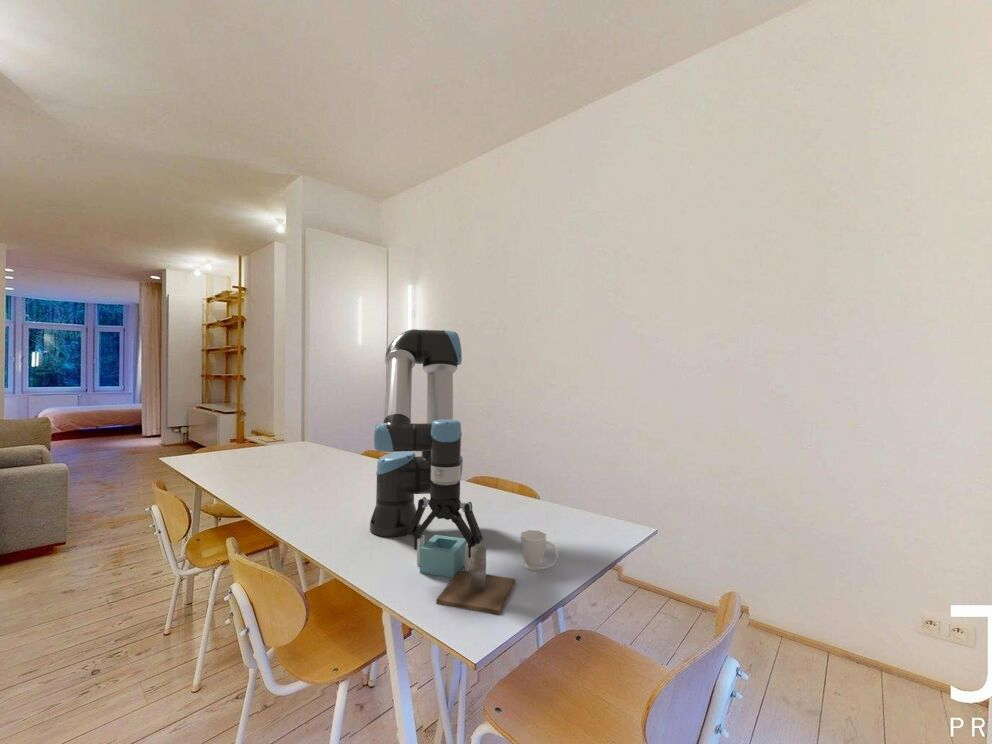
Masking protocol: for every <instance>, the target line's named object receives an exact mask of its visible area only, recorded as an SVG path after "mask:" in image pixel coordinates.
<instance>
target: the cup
mask: <svg viewBox="0 0 992 744" xmlns="http://www.w3.org/2000/svg"><path fill="white" fill-rule="evenodd" d="M520 541H521V543H520V544H521V549H522V557H523V562H524V568H525V569H527V570H528V571H538V570H547V569H548V568H550V567H552V566H554V565H555V564H556V563H557V561H558V558H559V553H558V549H557V546H556V545H555V543H553V542H551V541H547V534H546V533H545V532H542V531H540V530H526V531H522V532H520ZM547 545H550V546H551V547H552V548H553V550H554V553H555V560H554V561H553V562H552V563H551V564H548V565H547V566H542V564H543V563H542V562H543V560H544V555H545V548H546V546H547Z"/></svg>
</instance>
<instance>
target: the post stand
mask: <svg viewBox="0 0 992 744" xmlns="http://www.w3.org/2000/svg"><path fill="white" fill-rule="evenodd" d="M515 583H516V579H515V578H512V577H508V576H507V577H506V576H501V575H493V574H487V547H486V546H484V545H479V544H476V545H475V546H473V547H471V563H470V570H469V571H465V570H462V569H461V570H459V572H458V573H457V574H456V575H455V577H454V578H452V579H451V580H450V581H449V583H448V584H447V585H446V587H445V588H444V589H443V591H442V592H441V593H440V594H439V595H438V597H437V598H436V600H435V601H436V604H440V605H445V606H451V607H456V608H462V609H468V610H473V611H478V612H484V613H490V614H493V615H494V614H495V615H496V614H497V615H500V614H501V612H502V610H503V608H504V606H505V604H506V603H507V600H508V598H509V596H510V593H511V592H512V590H513V587H514V585H515Z"/></svg>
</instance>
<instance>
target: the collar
mask: <svg viewBox="0 0 992 744" xmlns="http://www.w3.org/2000/svg"><path fill="white" fill-rule="evenodd" d="M466 544H467V541H466V540H465V538H464V537H455V536H447V535H439V534H434V535H433V536H432V537H430V539H428V540H427V541H426V542H424V545H423V546H422V547H421V548H420V565H419V573H421V574H426V575H428V574H429V575H432V576H433V575H434V576H440V577H446V578H452V579H453V578H454V577H455V575H456V574H457V573H458V572H459V570H462V569H463V567H465V545H466Z"/></svg>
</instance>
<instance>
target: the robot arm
mask: <svg viewBox="0 0 992 744" xmlns="http://www.w3.org/2000/svg"><path fill="white" fill-rule="evenodd" d="M462 354H463V353H462V344H461V340H460V336H459V334H458V333H457V332H456V331H452V330H446V329H443V330H440V329H439V330H438V329H437V330H436V329H432V330H431V329H409V330H405V331H403V332H402V333H400V334H399V335H397V336H396V337H395V338H394V339H392V341H391V343H390V344H389V346H388V347H387V350H386V353H385V359H384V362H385V365H386V367H387V373H386V383H385V385H386V387H385V397H384V399H385V401H384V410H383V421H382V422H381V423H377V424H375V427H374V431H373V432H374V433H373V445H374V449H375V450H376V451H377V452H385V453H387V454H385V455H383V456H381V457H380V458H378V460H377V463H376V464H377V465H376V472H375V475H376V493H375V496H376V497H375V498H376V499H375V500H376V501H375V507H374V509H373V512H372V514H371V519H370V521H369V531H370V532H371V533H372V534H374V535H376V536H378V537H379V536H380V537H387V538H388V537H390V538H391V537H401V536H406V535H408V536H412V537H413V538H414V539H413V542H414V543H413V550H414V551H416V565H417V566H420V548H421V547H422V546H423V545H424V544H425V539H426V538H425V535H423V534H424V532H425V530H426V529H427V528H428V527H429V525H430V524H431V523H433V521H434V519H435V518H437V519H444V520H446V521H449V520H451V522H452V523H454V524H455V526H456V528H457V529H458V531H459V532H460V534H461V535H462V538H464V539H465V540H466V541H467V544H466V545H465V565H464V571H468V572H470V563H471V547H473V546H476V545H479V544H480V543H481V542H482V540H483V539H484V538H483V535H482V532H481V529H480V527H479V524H478V522H477V519H476V516H475V515H474V512H473V503H472V501H468V502H466V503H465V502H461V499H460V498H461V480H462V475H463V474H462V473H463V460H464V459H463V456H462V455H461V450H462V449H461V448H462V435H463V433H462V425H461V421H459V420H457V419H454V373H455V372H456V371H457V370H458V366H459V365H462V361H463V360H462V359H463V357H462ZM415 364H417V365H422V369H423V371H424V372H425V373H426V375H427V377H426V378H427V385H426V392H427V393H426V394H427V395H426V423H412V422H411V421H412V391H413V390H412V385H413V384H412V382H413V376H412V375H413V368H414V367H415ZM415 452H421V456H416V454H415ZM415 495H430V499H428V498H427V497H425V496H423V497H421V498H420V499H419V500H418V501H417V507H416V505H415ZM428 506H429V508H430V510H431V512H430V513H429V515H428V516H427V517H426V518H425V520H424V521H423V522H422V523H421V525H420V521H421V519H422V517H423V514H424V513H425V510H426V508H427V507H428ZM460 509H461V510H462V512H463V513H464V515H465V519H466V521H467V523H468V524H467V523H466V522H465V520H464V519H463V517H462V514H461V512H460Z"/></svg>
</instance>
